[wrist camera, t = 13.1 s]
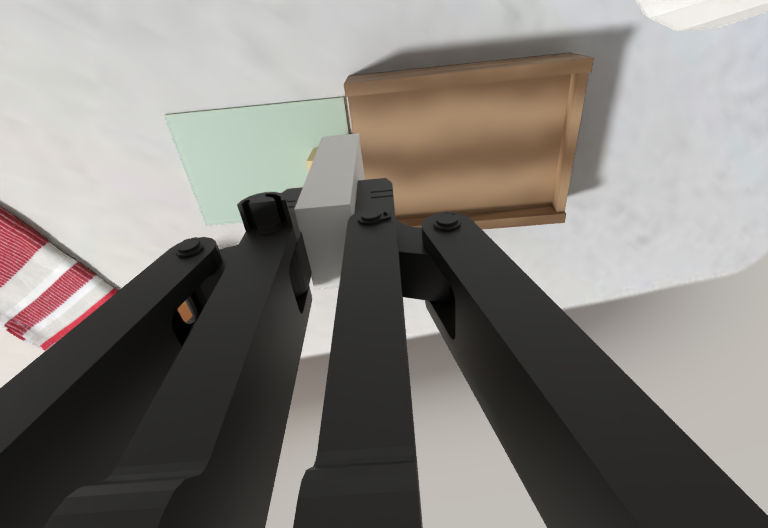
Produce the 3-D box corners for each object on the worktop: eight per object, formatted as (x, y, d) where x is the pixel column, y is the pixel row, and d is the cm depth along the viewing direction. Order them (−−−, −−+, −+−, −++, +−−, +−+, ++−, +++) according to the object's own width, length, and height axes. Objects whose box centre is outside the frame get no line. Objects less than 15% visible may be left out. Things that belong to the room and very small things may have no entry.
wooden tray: (348, 76, 36) (343, 83, 32) (569, 52, 35) (593, 58, 31) (367, 218, 44) (365, 238, 40) (547, 202, 43) (564, 222, 39)
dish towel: (91, 367, 58) (80, 381, 56) (-83, 260, 48) (-106, 272, 45) (162, 317, 53) (152, 330, 50) (-19, 184, 42) (-41, 193, 40)
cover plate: (167, 113, 38) (142, 125, 34) (344, 96, 37) (339, 105, 33) (208, 222, 45) (191, 242, 41) (359, 209, 44) (357, 229, 40)
